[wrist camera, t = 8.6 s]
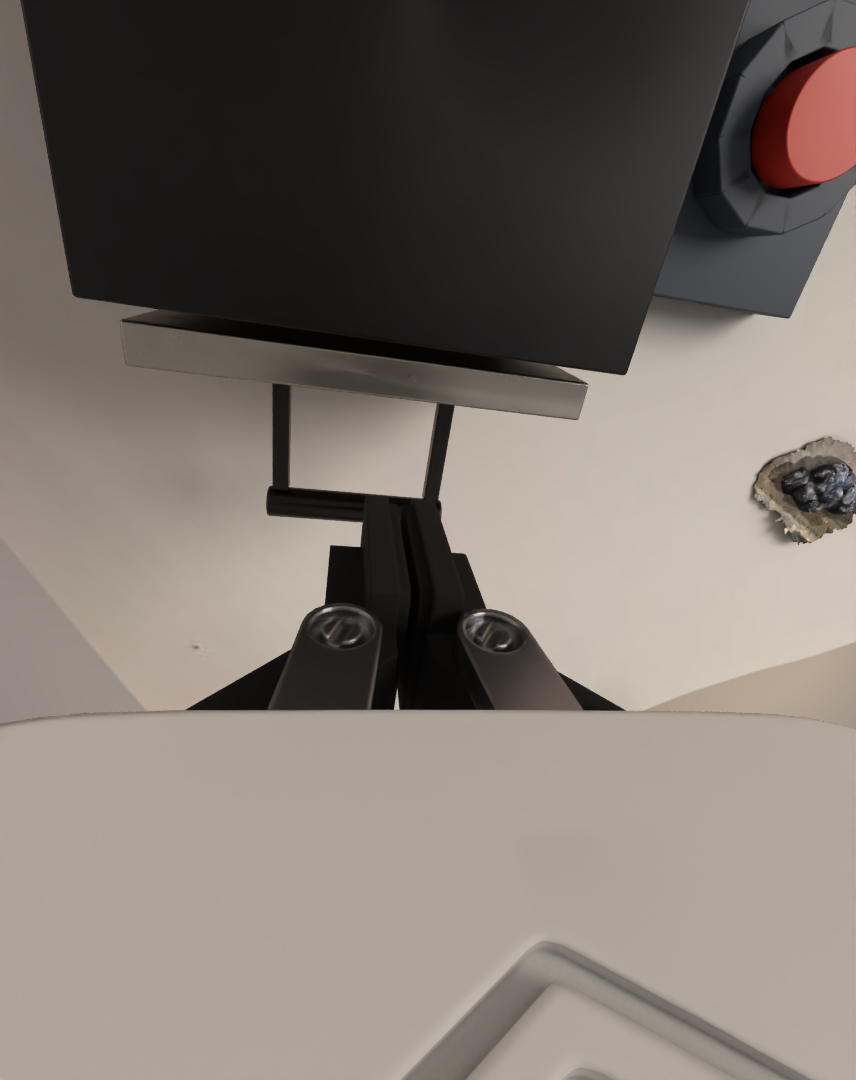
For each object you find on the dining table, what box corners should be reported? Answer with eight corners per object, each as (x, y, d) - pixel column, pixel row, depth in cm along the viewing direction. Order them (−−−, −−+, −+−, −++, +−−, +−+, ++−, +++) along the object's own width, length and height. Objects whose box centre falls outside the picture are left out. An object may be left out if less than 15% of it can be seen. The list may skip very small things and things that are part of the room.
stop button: (813, 197, 19) (851, 192, 18) (733, 178, 19) (767, 171, 17) (865, 77, 18) (913, 60, 16) (780, 51, 17) (822, 31, 15)
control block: (757, 314, 25) (821, 323, 22) (594, 285, 23) (636, 290, 20) (900, -19, 19) (1019, -79, 16) (699, -88, 18) (783, -172, 14)
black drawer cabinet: (520, 329, 24) (626, 376, 15) (195, 279, 21) (70, 297, 12) (624, -133, 17) (957, -614, 8) (156, -300, 14) (-227, -1375, 5)
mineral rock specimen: (818, 547, 33) (842, 562, 32) (724, 523, 31) (745, 538, 30) (889, 456, 30) (919, 467, 29) (790, 423, 28) (817, 433, 27)
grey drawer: (481, 482, 27) (532, 573, 19) (215, 457, 24) (150, 551, 16) (593, -32, 17) (784, -261, 10) (177, -161, 15) (-13, -609, 7)
